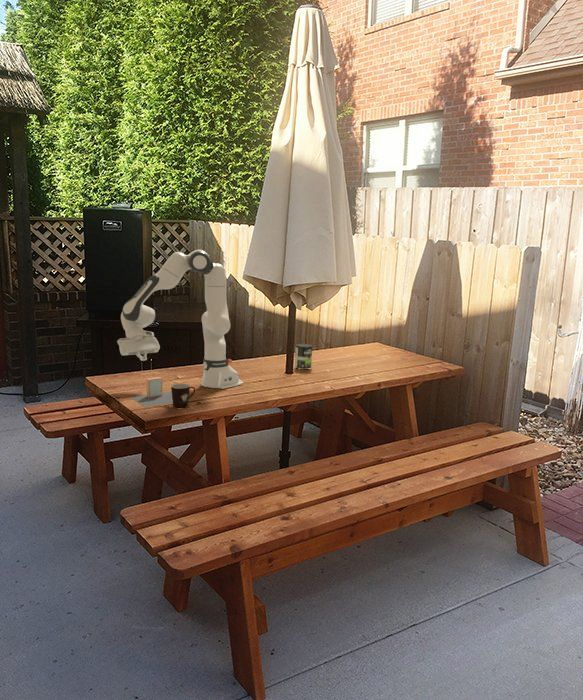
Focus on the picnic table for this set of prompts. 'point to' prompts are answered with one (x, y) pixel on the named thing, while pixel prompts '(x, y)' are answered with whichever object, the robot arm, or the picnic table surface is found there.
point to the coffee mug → (180, 395)
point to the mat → (154, 399)
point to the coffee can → (303, 356)
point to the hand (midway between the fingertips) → (144, 360)
